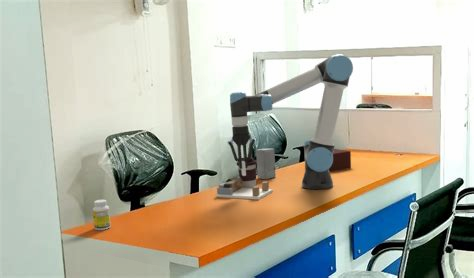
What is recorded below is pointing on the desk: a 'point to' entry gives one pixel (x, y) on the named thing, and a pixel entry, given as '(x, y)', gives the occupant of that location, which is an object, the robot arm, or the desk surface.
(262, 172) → the skincare box
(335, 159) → the box
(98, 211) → the pill bottle
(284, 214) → the desk surface
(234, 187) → the leg
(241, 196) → the board
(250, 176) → the coffee cup
